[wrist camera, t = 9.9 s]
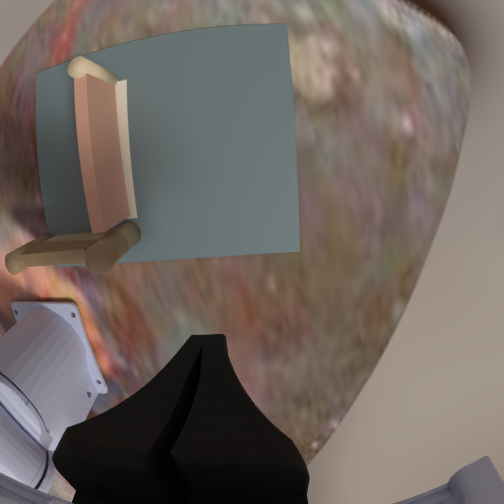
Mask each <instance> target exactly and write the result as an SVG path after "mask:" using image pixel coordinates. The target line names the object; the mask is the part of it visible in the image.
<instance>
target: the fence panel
mask: <svg viewBox="0 0 504 504" xmlns="http://www.w3.org/2000/svg"><path fill="white" fill-rule="evenodd" d="M67 72H68V74H69V76H71V77H74V95H75V114H76V128H77V139H78V148H79V157H80V165H81V172H82V179H83V186H84V192H85V198H86V204H87V209H88V214H89V219H90V224H91V229H92V234H95V233H101V232H106V231H107V230H109V229H110V228H112V227H114V226H115V225H117V224H118V223H120V222H122V221H123V220H125V219H127V218H128V217H130V216H131V215H130V210H129V204H128V198H127V192H126V185H125V179H124V172H123V164H122V156H121V148H120V139H119V130H118V119H117V107H116V92H115V85H116V84H117V81H118V78H117V75H116V74H114V73H113V72H111V71H109V70H107V69H105V68H103V67H102V66H100V65H98V64H96V63H94V62H92V61H90V60H88V59H86V58H84V57H82V56H77V57H75V58H74V59H72V60H71V62H70V63H69V65H68V68H67Z"/></svg>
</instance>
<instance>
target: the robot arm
mask: <svg viewBox="0 0 504 504" xmlns="http://www.w3.org/2000/svg"><path fill="white" fill-rule="evenodd" d="M11 308H12V311H13V314H14V316H15V319H16V322H17V323H16V324H14V325H13V326H12V327H11V328H10V329H9V330H8V331H7V332H6V333H5V334H4V335H3V336H2V337H1V338H0V504H308V499H307V490H308V485H309V473H308V470H307V467H306V464H305V462H304V460H303V458H302V456H301V454H300V453H299V451H298V449H297V448H296V446H295V444H294V443H293V441H292V440H291V439H290V438H289V437H287V436H286V435H285V434H284V433H282V432H281V431H280V430H279V429H278V428H277V427H276V426H275V425H274V424H272V423H271V422H270V421H269V420H268V419H267V418H266V416H265V415H264V414H263V413H262V412H261V411H260V410H259V408H258V407H257V406H256V405H255V404H254V402H253V401H252V400H251V398H250V397H249V396H248V394H247V393H246V391H245V390H244V388H243V386H242V385H241V383H240V381H239V379H238V377H237V375H236V374H235V371H234V369H233V367H232V364H231V362H230V359H229V357H228V349H227V342H226V336H225V335H223V334H211V335H191V336H190V337H189V339H188V340H187V341H186V342H185V344H184V345H183V346H182V347H181V348H180V350H179V351H178V352H177V353H176V355H175V356H174V357H173V358H172V359H171V360H170V361H169V362H168V364H167V365H166V366H165V367H164V368H163V369H162V370H161V371H160V372H159V373H158V374H157V375H156V376H155V377H154V378H153V379H152V380H151V381H150V382H149V383H147V384H146V385H145V386H144V387H143V388H141V389H140V390H139V391H137V392H136V393H135V394H133V395H132V396H130V397H129V398H127V399H126V400H124V401H123V402H121V403H120V404H118V405H117V406H115V407H113V408H111V409H109V410H108V411H106V412H104V413H102V414H100V415H98V416H95V417H93V418H91V419H88V420H86V421H85V419H86V417H87V415H88V413H89V411H90V409H91V407H92V405H93V403H94V401H95V399H96V397H97V395H98V393H103V394H105V393H107V391H108V387H107V385H106V383H105V380H104V378H103V376H102V373H101V371H100V368H99V366H98V364H97V361H96V358H95V356H94V353H93V351H92V348H91V345H90V342H89V340H88V337H87V334H86V331H85V328H84V325H83V322H82V319H81V316H80V313H79V310H78V307H77V305H76V304H75V303H74V302H35V301H13V302H12V303H11ZM72 312H73V313H74V314H75V315H74V314H73V313H72ZM52 450H55V451H54V453H53V454H52V453H51V451H52ZM55 467H56V469H57V470H58V472H59V473H60V474H61V475H62V476H63V477H64V478H65V479H66V480H67V482H68V483H69V484H70V485H71V486H72V487H73V488H74V489H75V490H76V492H75V495H74V498H73V501H72V503H71V502H68V501H65V500H63V499H60V498H57V497H54V496H52V495H49V494H47V493H48V492H49V490H50V488H51V486H52V484H53V481H54V477H55ZM394 504H504V482H503V481H502V479H501V477H500V475H499V474H498V472H497V470H496V469H495V467H494V465H493V464H492V462H491V460H490V459H489V457H488V456H485V457H483V458H481V459H479V460H477V461H475V462H473V463H471V464H469V465H467V466H465V467H463V468H462V469H460V470H459V471H457V472H456V473H455V474H454V475H453V476H452V477H451V478H450V480H449V482H448V483H447V484H444V485H442V486H440V487H437V488H435V489H432V490H430V491H428V492H425V493H423V494H420V495H417V496H415V497H412V498H409V499H406V500H403V501H400V502H397V503H394Z"/></svg>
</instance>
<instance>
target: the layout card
mask: <svg viewBox="0 0 504 504" xmlns="http://www.w3.org/2000/svg"><path fill="white" fill-rule="evenodd" d="M82 57H84V58H86V59H88V60H90V61H92V62H94V63H96V64H98V65H100V66H102V67H103V68H105V69H107V70H109V71H111V72H113V73H114V74H116V75H117V78H118V81H117V84H116V85H115V92H116V107H117V119H118V130H119V139H120V148H121V156H122V164H123V172H124V179H125V185H126V192H127V198H128V204H129V210H130V215H131V216H130V217H128V218H127V219H125V220H123V221H122V222H120V223H118V224H117V225H115V226H114V227H112V228H110V229H109V230H112V229H113V230H114V229H116V228H118V227H119V226H121V225H122V224H124V223H126V222H133V223H135V224H137V225H138V227H139V228H140V230H141V239H140V241H139V242H138V243H137V244H136V245H135V246H134V247H132V248H131V249H130V250H129V251H128V252H127V253H126V254H125V255H124V256H123V257H122V258H121V259H120V260H118V261H117V262H116V263H129V262H145V261H160V260H175V259H191V258H206V257H221V256H236V255H251V254H266V253H281V252H296V251H300V237H299V199H298V173H297V152H296V134H295V118H294V104H293V90H292V78H291V66H290V55H289V45H288V35H287V26H286V24H259V25H237V26H224V27H213V28H204V29H196V30H189V31H182V32H176V33H170V34H165V35H159V36H154V37H150V38H145V39H140V40H136V41H132V42H128V43H124V44H120V45H116V46H113V47H109V48H106V49H102V50H99V51H96V52H93V53H90V54H87V55H84V56H82ZM70 62H71V60H69V61H67V62H64V63H61V64H59V65H56V66H54V67H51V68H49V69H47V70H44V71H42V72H40V73H37V74H36V101H35V114H36V143H37V157H38V169H39V178H40V186H41V194H42V201H43V207H44V214H45V219H46V225H47V230H48V233H51V234H53V235H54V236H59V235H67V234H76V233H85V232H92V229H91V224H90V219H89V214H88V209H87V204H86V198H85V192H84V186H83V179H82V172H81V165H80V157H79V148H78V139H77V128H76V114H75V95H74V77H71V76H69V74H68V72H67V68H68V65H69V63H70ZM82 265H86V263H75V264H61V265H55V266H56V267H66V266H82Z"/></svg>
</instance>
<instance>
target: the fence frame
mask: <svg viewBox="0 0 504 504" xmlns="http://www.w3.org/2000/svg"><path fill="white" fill-rule="evenodd" d="M140 239H141V230H140V228H139V227H138V225H137V224H135V223H133V222H126V223H124V224H122V225H121V226H119V227H118V228H116V229H114V230H113V229H112V230H107V231H106V232H101V233H95V234H92V232H85V233H76V234H67V235H59V236H54V235H53V234H51V233H46V234H44V235H42V236H40V237H38V238H37V239H35V240H33V241H31V242H29V243H27V244H25V245H23V246H21V247H20V248H18V249H16V250H14V251H12V252H10V253H9V254H7V255H6V257H5V265H6V267H7V269H8V271H9V272H10V273H11V274H14V275H16V274H18V273H19V272H21V271H22V270H24V269H25V268H27V267H31V266H46V265H61V264H75V263H86V265H87V266H88V268H89V269H90V270H91V271H92V272H94V273H97V274H103V273H105V272H107V271H108V270H109V269H110V268H111V267H112V266H113V265H114V264H115V263H116V262H117V261H118V260H120V259H121V258H122V257H123V256H124V255H125V254H126V253H127V252H128V251H129V250H130V249H131V248H132V247H134V246H135V245H136V244H137V243H138V242H139V241H140Z"/></svg>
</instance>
